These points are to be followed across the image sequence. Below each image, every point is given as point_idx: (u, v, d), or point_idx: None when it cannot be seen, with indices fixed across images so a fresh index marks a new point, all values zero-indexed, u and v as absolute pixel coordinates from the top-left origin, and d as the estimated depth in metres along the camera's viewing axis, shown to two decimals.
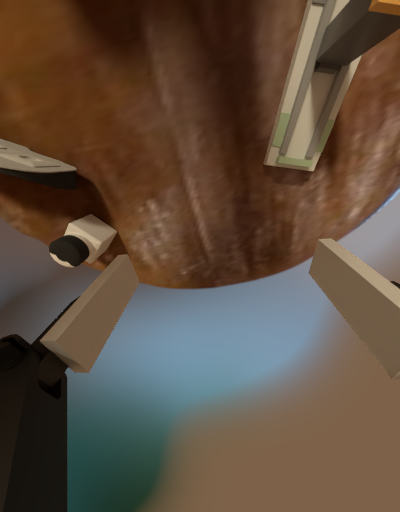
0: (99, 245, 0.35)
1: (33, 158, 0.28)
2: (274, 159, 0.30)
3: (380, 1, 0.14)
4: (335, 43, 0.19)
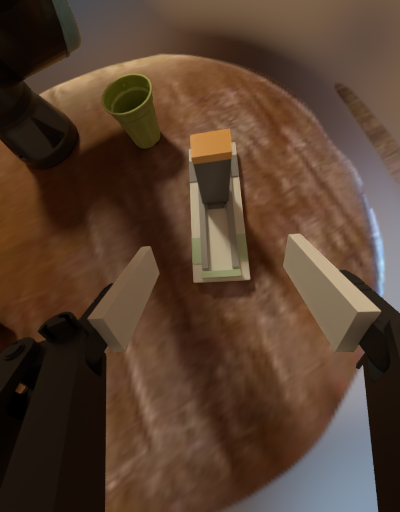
0: None
1: None
2: (200, 275, 0.27)
3: (193, 157, 0.18)
4: (200, 189, 0.24)
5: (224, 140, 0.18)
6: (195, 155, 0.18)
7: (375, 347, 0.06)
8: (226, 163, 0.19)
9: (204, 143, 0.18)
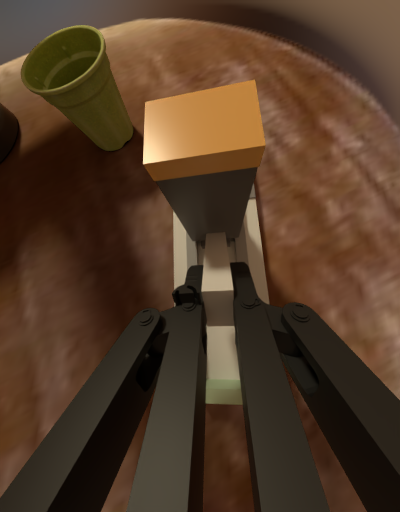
0: None
1: None
2: None
3: (149, 162, 0.06)
4: (184, 224, 0.12)
5: (240, 113, 0.06)
6: (154, 157, 0.06)
7: (235, 324, 0.08)
8: (242, 178, 0.07)
9: (182, 123, 0.06)
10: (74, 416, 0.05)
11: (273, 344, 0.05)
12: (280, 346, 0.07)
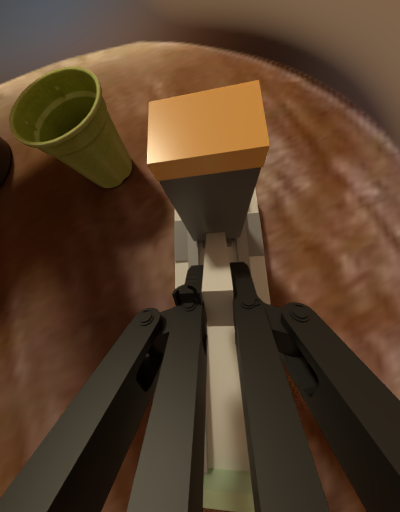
0: None
1: None
2: None
3: (153, 162, 0.06)
4: (186, 224, 0.12)
5: (244, 113, 0.06)
6: (158, 157, 0.06)
7: (234, 324, 0.08)
8: (246, 178, 0.07)
9: (186, 123, 0.06)
10: (74, 416, 0.05)
11: (273, 344, 0.05)
12: (280, 346, 0.07)
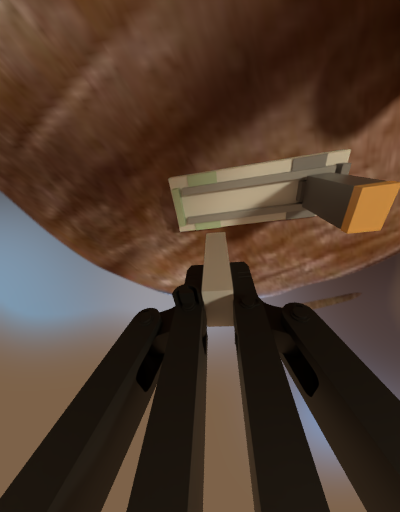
0: None
1: None
2: (176, 186, 0.26)
3: (362, 190, 0.15)
4: (323, 181, 0.20)
5: (366, 225, 0.16)
6: (363, 192, 0.15)
7: (235, 324, 0.08)
8: (338, 222, 0.18)
9: (375, 202, 0.15)
10: (74, 416, 0.05)
11: (273, 344, 0.05)
12: (280, 346, 0.07)
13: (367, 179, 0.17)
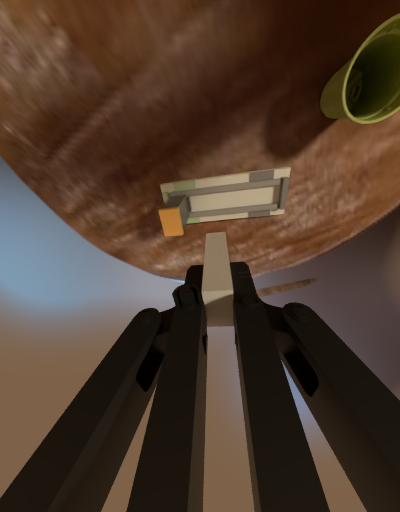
0: None
1: None
2: (165, 190, 0.35)
3: (159, 212, 0.26)
4: (167, 202, 0.31)
5: (173, 231, 0.28)
6: (160, 213, 0.26)
7: (234, 324, 0.08)
8: None
9: (170, 219, 0.26)
10: (74, 416, 0.05)
11: (273, 344, 0.05)
12: (280, 346, 0.07)
13: (178, 204, 0.28)
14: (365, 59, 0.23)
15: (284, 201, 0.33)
